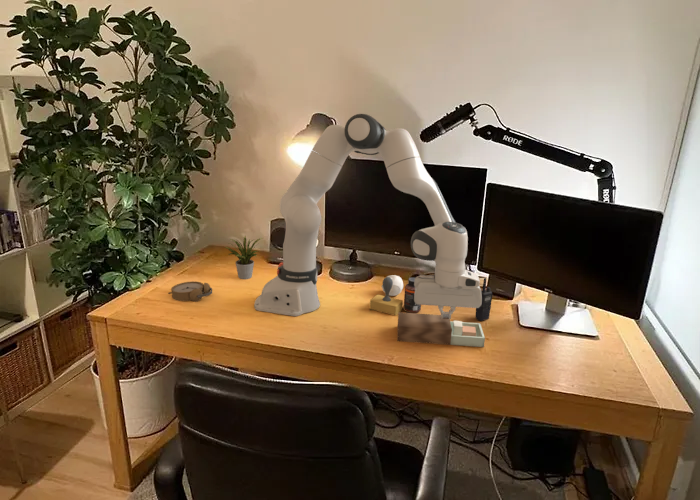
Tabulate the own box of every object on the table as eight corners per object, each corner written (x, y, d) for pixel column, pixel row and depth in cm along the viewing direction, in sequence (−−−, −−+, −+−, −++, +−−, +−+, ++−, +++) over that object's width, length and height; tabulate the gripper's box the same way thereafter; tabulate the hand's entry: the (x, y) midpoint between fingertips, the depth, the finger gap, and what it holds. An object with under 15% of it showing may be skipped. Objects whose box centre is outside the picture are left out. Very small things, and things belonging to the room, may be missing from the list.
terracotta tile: (476, 332, 164) (475, 340, 165) (475, 327, 168) (474, 334, 169) (462, 331, 165) (461, 338, 165) (462, 325, 168) (461, 332, 169)
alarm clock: (183, 280, 198) (217, 279, 192) (186, 292, 199) (220, 292, 194) (163, 291, 188) (199, 290, 182) (166, 304, 189) (202, 304, 183)
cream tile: (454, 326, 164) (462, 326, 164) (453, 320, 168) (461, 321, 168) (452, 337, 166) (461, 338, 166) (452, 331, 170) (460, 332, 169)
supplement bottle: (420, 314, 183) (422, 283, 179) (402, 312, 184) (404, 281, 180) (421, 307, 188) (423, 277, 185) (404, 305, 189) (406, 275, 186)
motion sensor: (386, 289, 203) (387, 270, 200) (405, 293, 200) (407, 273, 197) (378, 296, 196) (379, 276, 193) (397, 301, 193) (399, 280, 190)
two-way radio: (479, 322, 178) (484, 280, 173) (470, 317, 182) (474, 275, 177) (491, 318, 181) (496, 277, 176) (481, 313, 185) (486, 273, 180)
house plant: (253, 267, 221) (251, 228, 215) (272, 276, 211) (271, 237, 206) (222, 274, 211) (220, 235, 206) (240, 285, 202) (239, 243, 197)
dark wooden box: (397, 341, 164) (398, 326, 162) (397, 326, 173) (398, 312, 172) (450, 344, 163) (451, 329, 161) (447, 329, 172) (448, 315, 171)
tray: (450, 344, 163) (451, 335, 162) (447, 329, 172) (448, 321, 171) (483, 347, 162) (484, 338, 161) (479, 331, 172) (480, 323, 171)
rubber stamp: (402, 309, 186) (404, 277, 182) (395, 316, 181) (397, 283, 177) (376, 303, 190) (378, 271, 186) (369, 309, 185) (370, 277, 182)
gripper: (415, 278, 159) (412, 320, 164) (485, 282, 158) (480, 324, 162) (414, 270, 165) (411, 311, 169) (481, 274, 164) (477, 315, 168)
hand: (445, 318), depth 166 cm, fingers closed
